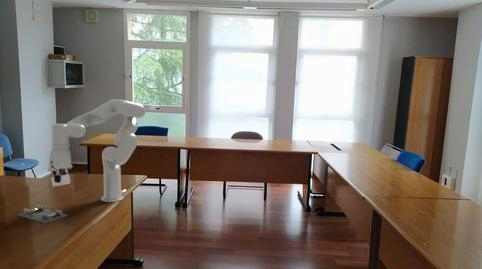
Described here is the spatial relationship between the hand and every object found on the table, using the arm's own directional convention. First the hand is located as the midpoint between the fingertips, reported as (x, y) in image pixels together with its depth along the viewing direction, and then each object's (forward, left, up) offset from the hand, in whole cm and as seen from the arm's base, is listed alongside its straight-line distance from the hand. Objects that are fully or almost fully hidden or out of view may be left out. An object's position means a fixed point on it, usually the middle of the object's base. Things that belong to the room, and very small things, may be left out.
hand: (60, 181), depth 182 cm
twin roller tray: (+11, 0, -16) cm, 19 cm away
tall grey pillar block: (0, +1, -2) cm, 2 cm away
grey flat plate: (+11, 0, -16) cm, 19 cm away
